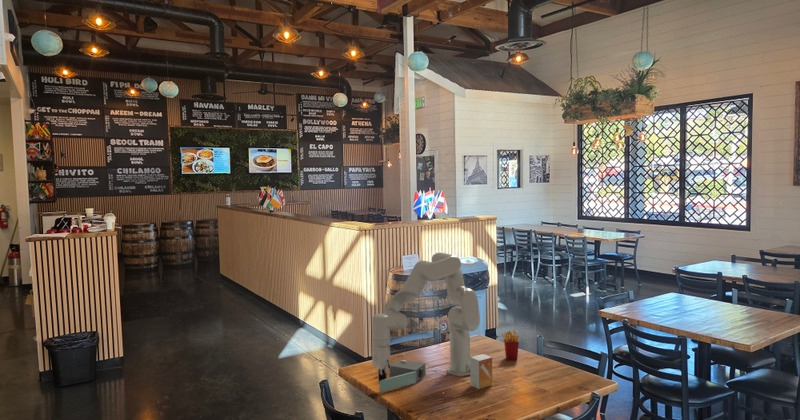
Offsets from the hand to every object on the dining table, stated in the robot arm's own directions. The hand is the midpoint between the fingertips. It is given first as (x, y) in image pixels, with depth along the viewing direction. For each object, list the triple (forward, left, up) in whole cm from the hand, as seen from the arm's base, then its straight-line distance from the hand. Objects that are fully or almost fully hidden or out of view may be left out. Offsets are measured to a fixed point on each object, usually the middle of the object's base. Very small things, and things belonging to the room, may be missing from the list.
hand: (382, 382), depth 233 cm
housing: (-3, -19, -4) cm, 19 cm away
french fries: (-39, -64, -4) cm, 75 cm away
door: (-5, -5, -3) cm, 8 cm away
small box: (-38, -24, -4) cm, 45 cm away
